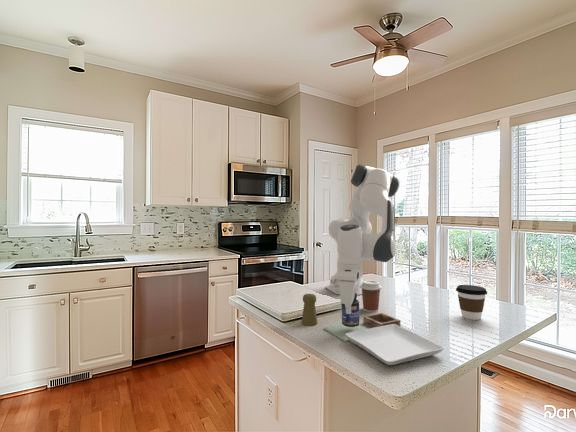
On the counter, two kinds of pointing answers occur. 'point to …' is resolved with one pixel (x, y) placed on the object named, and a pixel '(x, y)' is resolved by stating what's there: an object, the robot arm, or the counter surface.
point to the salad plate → (393, 344)
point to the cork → (309, 310)
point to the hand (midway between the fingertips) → (350, 310)
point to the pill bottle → (352, 318)
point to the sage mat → (343, 330)
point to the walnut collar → (373, 320)
